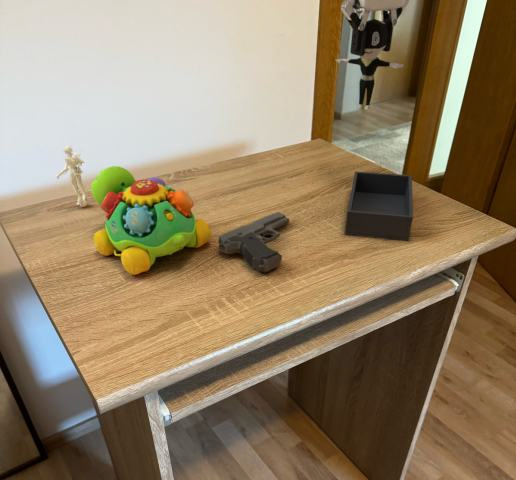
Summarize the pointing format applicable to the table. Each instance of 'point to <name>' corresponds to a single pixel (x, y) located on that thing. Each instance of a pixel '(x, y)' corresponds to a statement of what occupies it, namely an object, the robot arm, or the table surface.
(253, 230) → the handgun
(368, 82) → the toy
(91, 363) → the table surface
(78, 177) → the figurine
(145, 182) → the turtle toy
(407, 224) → the dark grey open box
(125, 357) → the table surface
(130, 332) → the table surface
